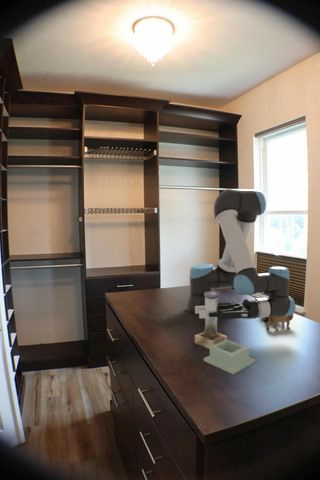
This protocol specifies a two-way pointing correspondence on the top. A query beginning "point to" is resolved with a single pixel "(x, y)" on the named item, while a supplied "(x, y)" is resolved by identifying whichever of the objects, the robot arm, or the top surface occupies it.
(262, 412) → the top surface
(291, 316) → the lion figurine
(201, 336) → the mount
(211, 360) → the socket
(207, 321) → the silver capped cylinder
